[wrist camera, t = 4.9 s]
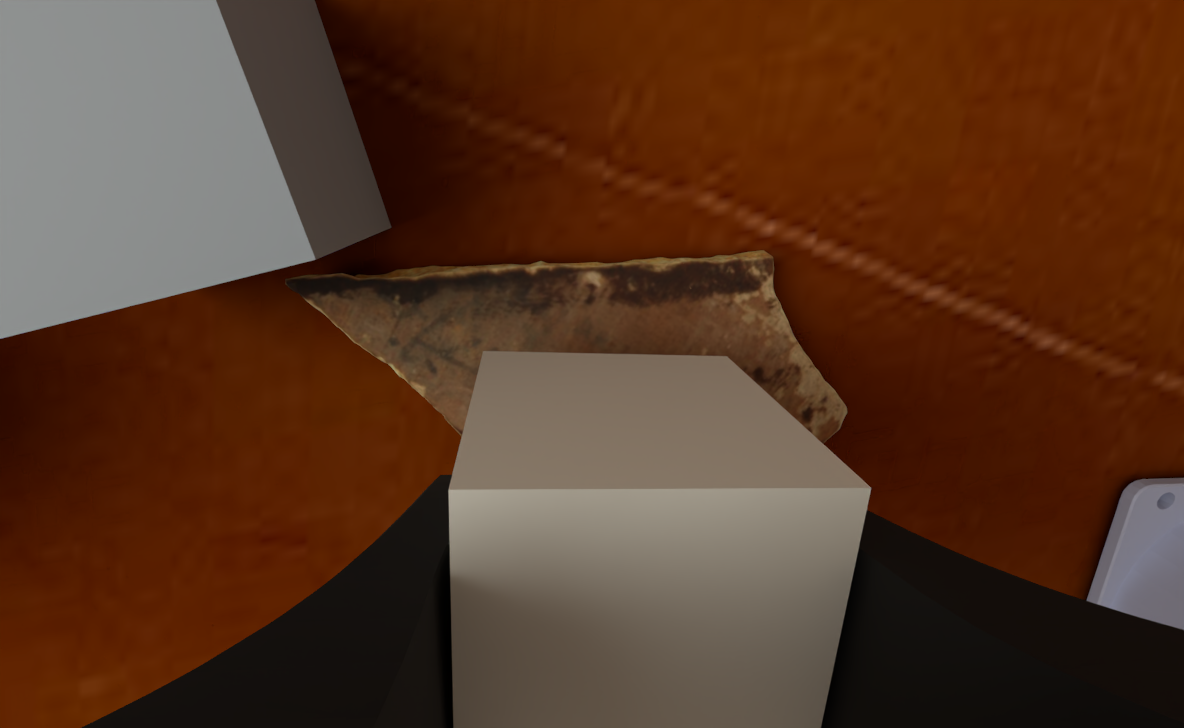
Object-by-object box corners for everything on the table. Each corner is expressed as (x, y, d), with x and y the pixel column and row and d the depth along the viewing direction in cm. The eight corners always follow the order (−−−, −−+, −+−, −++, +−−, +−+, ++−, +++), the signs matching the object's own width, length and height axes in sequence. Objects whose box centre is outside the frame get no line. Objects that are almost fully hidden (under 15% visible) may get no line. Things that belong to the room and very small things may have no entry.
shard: (307, 270, 13) (276, 285, 12) (557, 11, 12) (562, -15, 11) (630, 556, 16) (642, 601, 15) (849, 369, 15) (890, 393, 14)
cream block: (727, 356, 11) (871, 488, 7) (701, 562, 13) (806, 795, 8) (483, 351, 11) (448, 489, 6) (483, 565, 12) (455, 818, 7)
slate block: (312, -9, 11) (162, -138, 7) (391, 227, 13) (315, 259, 8) (75, 47, 11) (-251, -45, 6) (183, 279, 13) (-19, 343, 8)
